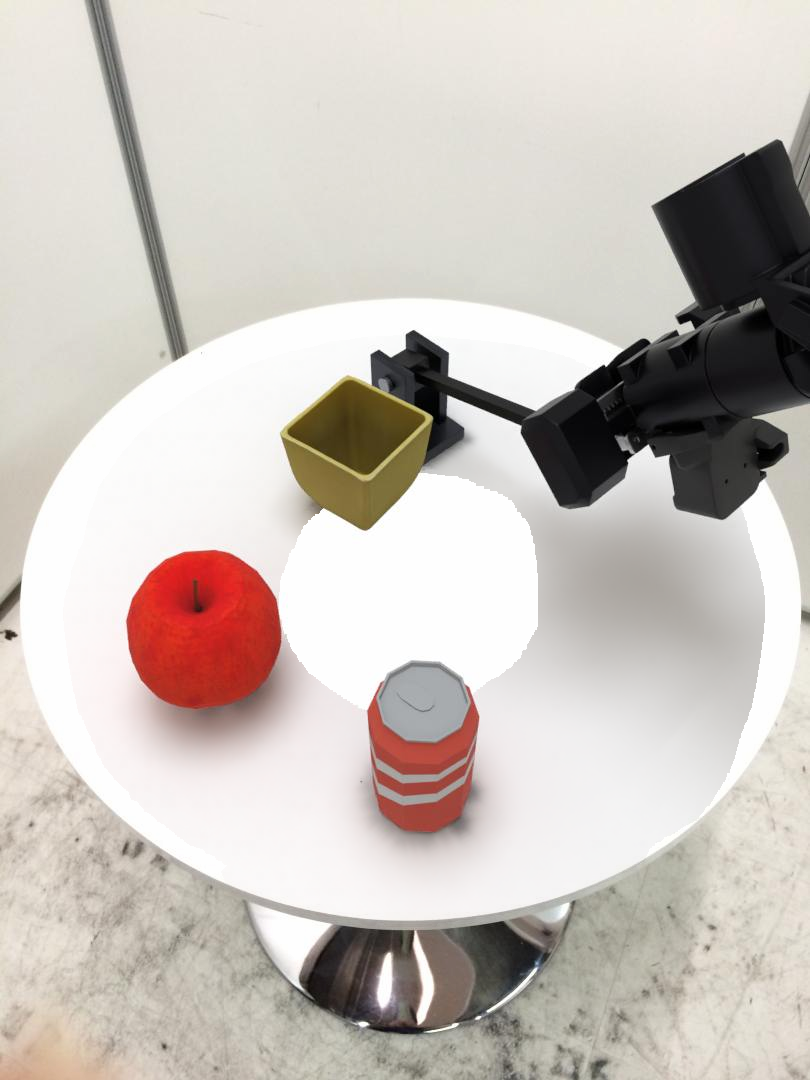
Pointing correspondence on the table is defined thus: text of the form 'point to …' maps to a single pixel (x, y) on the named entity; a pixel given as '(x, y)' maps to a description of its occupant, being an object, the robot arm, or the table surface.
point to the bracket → (401, 385)
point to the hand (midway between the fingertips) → (565, 420)
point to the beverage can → (422, 745)
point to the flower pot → (357, 450)
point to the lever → (460, 388)
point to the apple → (203, 629)
